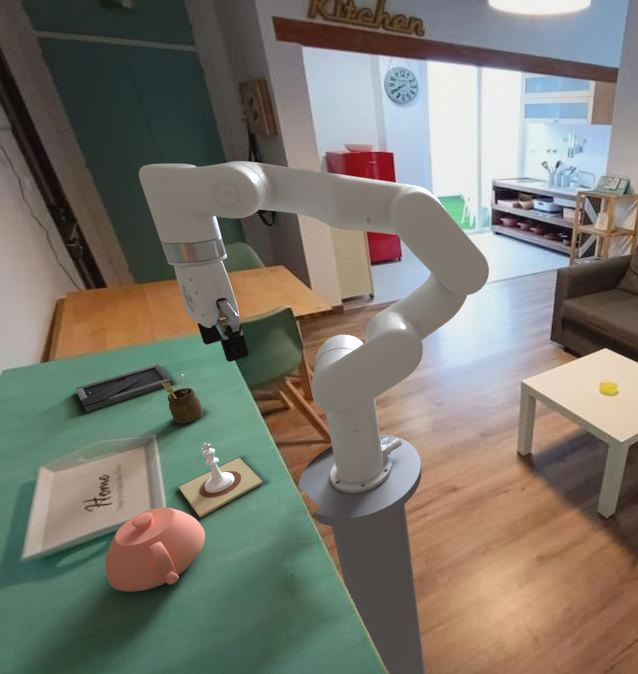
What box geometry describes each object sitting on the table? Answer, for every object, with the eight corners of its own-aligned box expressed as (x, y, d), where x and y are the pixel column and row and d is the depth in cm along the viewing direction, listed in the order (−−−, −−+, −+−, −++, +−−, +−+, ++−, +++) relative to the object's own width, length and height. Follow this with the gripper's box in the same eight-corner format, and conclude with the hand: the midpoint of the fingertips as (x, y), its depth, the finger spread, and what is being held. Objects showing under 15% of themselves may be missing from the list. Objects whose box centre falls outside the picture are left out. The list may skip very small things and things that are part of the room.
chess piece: (240, 479, 84) (226, 439, 80) (215, 496, 80) (199, 455, 76) (224, 471, 86) (210, 432, 81) (199, 487, 82) (183, 447, 77)
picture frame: (86, 412, 104) (173, 384, 117) (83, 405, 103) (171, 377, 116) (77, 393, 112) (160, 368, 124) (74, 386, 111) (157, 362, 123)
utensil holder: (209, 409, 106) (194, 368, 101) (193, 425, 100) (178, 382, 95) (184, 410, 106) (169, 369, 101) (168, 425, 100) (150, 382, 95)
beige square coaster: (239, 459, 90) (238, 456, 90) (263, 483, 84) (262, 480, 84) (179, 489, 82) (178, 486, 82) (200, 517, 76) (199, 515, 76)
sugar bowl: (195, 520, 76) (177, 477, 71) (224, 566, 68) (206, 521, 63) (106, 567, 67) (79, 522, 63) (127, 626, 59) (99, 579, 55)
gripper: (148, 246, 66) (182, 342, 73) (187, 265, 56) (222, 374, 64) (202, 238, 71) (229, 329, 79) (246, 255, 62) (272, 357, 69)
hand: (226, 349), depth 71 cm, fingers open, 9 cm apart
